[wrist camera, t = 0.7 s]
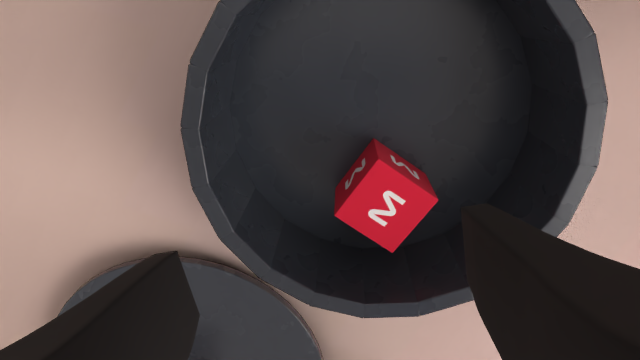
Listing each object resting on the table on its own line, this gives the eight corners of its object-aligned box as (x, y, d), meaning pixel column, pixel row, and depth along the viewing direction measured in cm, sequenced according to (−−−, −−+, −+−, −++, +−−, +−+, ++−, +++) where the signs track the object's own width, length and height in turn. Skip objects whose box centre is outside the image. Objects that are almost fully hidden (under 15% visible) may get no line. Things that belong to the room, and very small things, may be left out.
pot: (528, 250, 22) (576, 311, 17) (241, 262, 23) (217, 323, 19) (563, -84, 17) (642, -117, 12) (192, -49, 18) (141, -68, 13)
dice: (373, 137, 20) (378, 158, 17) (425, 174, 20) (439, 200, 18) (334, 188, 21) (333, 215, 18) (386, 221, 21) (392, 253, 19)
